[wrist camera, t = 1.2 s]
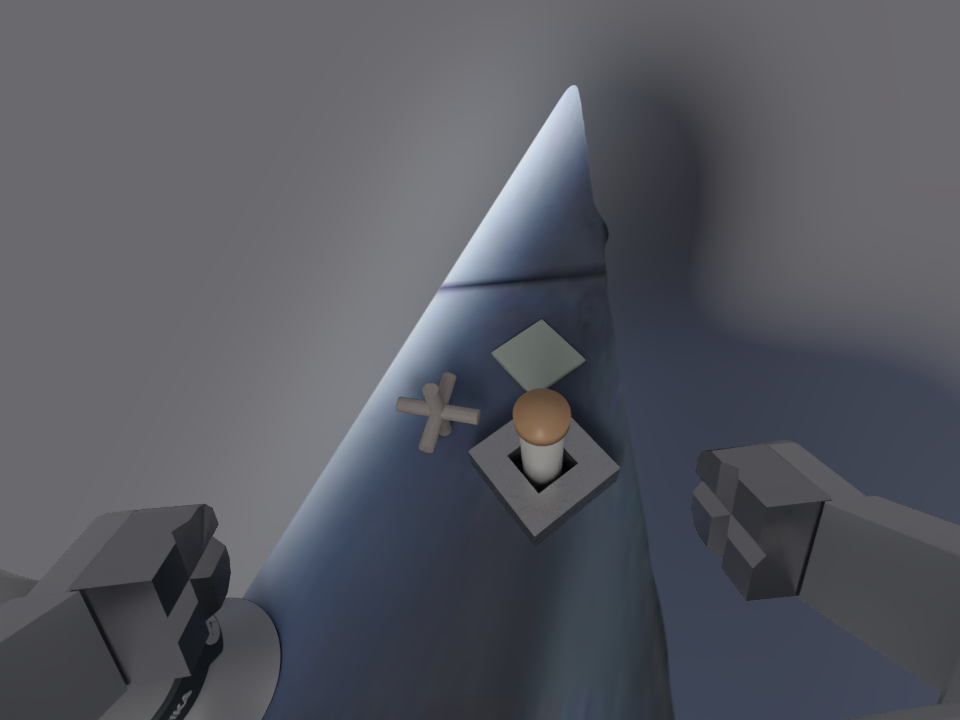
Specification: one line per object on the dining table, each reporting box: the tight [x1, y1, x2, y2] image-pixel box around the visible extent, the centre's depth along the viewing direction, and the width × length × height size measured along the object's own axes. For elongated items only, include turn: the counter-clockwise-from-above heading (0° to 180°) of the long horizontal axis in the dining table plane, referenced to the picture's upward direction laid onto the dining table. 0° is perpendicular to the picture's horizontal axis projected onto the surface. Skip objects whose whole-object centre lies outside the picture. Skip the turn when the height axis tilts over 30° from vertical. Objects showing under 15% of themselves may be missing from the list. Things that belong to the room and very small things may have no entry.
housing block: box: [468, 418, 620, 546], centre depth 57 cm, size 12×12×4 cm
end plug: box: [513, 388, 571, 491], centre depth 53 cm, size 5×5×15 cm
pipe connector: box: [396, 372, 481, 453], centre depth 59 cm, size 10×10×10 cm
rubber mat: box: [491, 319, 585, 392], centre depth 68 cm, size 9×9×1 cm
